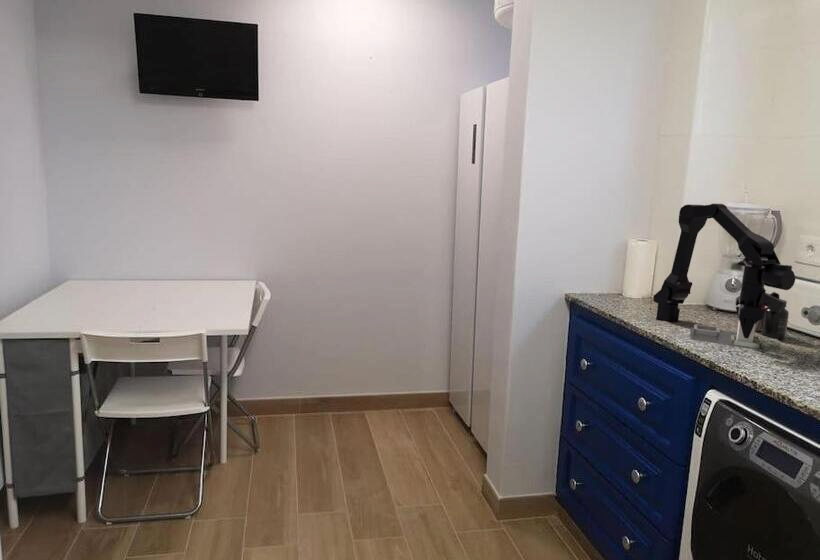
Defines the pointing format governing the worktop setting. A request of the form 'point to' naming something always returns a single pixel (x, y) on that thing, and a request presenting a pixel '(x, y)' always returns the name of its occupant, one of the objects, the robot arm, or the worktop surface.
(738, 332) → the plug
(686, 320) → the worktop surface
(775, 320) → the supplement bottle
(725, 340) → the panel
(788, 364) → the worktop surface
